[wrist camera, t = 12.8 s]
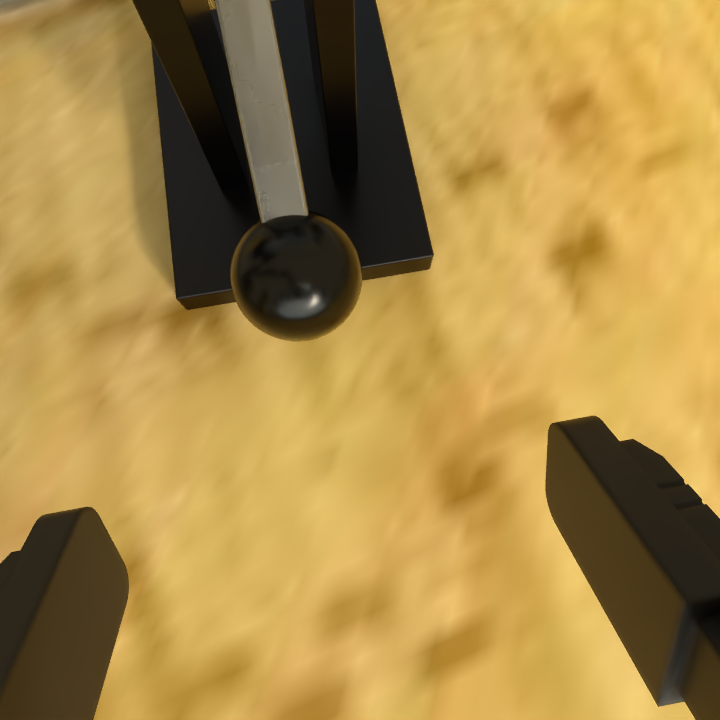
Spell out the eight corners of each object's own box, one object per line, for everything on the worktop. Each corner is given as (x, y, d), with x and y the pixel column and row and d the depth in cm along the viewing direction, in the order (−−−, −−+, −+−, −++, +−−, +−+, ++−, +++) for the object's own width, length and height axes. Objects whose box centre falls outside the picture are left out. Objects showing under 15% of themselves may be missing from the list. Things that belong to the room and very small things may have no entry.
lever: (364, 309, 16) (377, 346, 13) (252, 329, 15) (239, 370, 12) (269, -315, 11) (255, -493, 8) (108, -293, 11) (32, -464, 8)
